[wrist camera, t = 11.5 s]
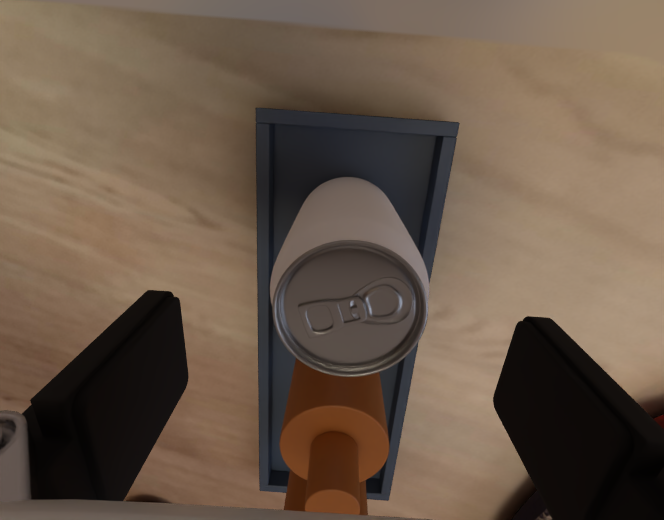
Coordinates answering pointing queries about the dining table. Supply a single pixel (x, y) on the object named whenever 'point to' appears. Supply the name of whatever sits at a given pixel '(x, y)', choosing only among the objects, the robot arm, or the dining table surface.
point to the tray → (282, 209)
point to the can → (349, 282)
